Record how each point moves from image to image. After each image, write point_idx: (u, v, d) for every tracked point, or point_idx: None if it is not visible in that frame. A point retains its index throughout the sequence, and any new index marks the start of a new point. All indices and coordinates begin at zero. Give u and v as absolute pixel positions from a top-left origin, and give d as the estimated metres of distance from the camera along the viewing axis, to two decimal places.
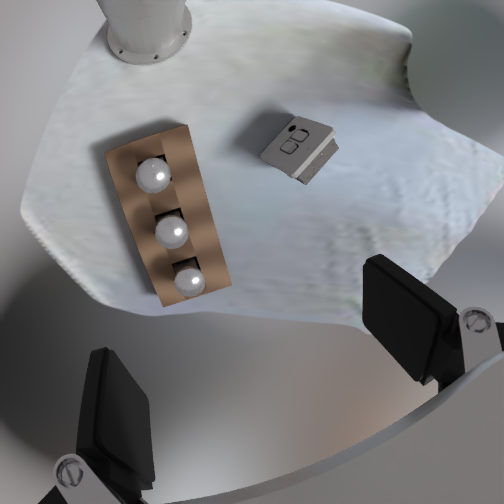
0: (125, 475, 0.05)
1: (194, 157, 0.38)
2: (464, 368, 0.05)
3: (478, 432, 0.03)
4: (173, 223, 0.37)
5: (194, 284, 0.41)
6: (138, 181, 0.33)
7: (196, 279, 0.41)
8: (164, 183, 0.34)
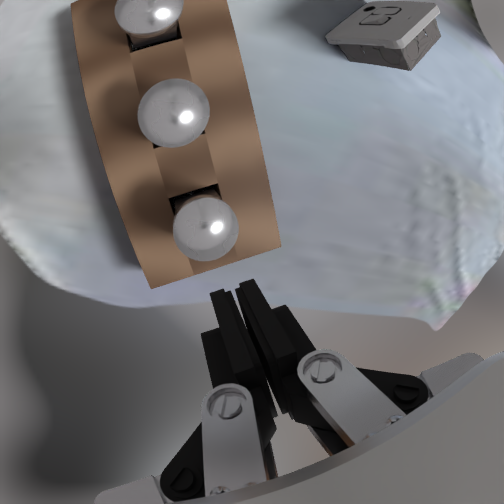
0: None
1: (225, 7, 0.16)
2: (341, 429, 0.05)
3: (478, 432, 0.03)
4: (179, 90, 0.15)
5: (216, 234, 0.19)
6: (118, 13, 0.12)
7: (220, 221, 0.19)
8: (169, 16, 0.13)
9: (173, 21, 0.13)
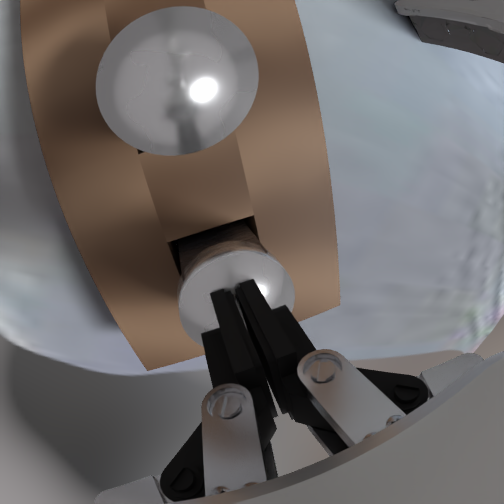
0: None
1: None
2: (341, 429, 0.05)
3: (478, 432, 0.03)
4: (191, 30, 0.06)
5: None
6: None
7: (265, 292, 0.11)
8: None
9: None
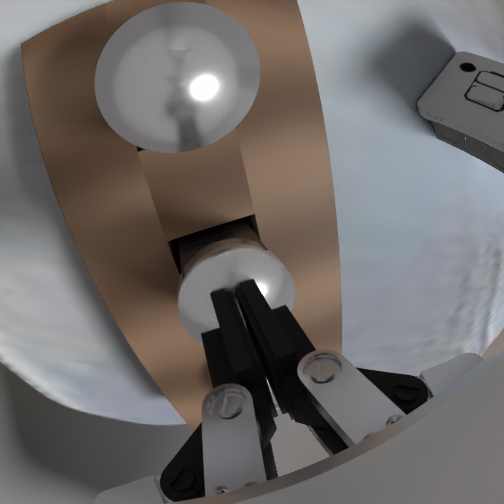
0: None
1: (308, 62, 0.10)
2: (341, 428, 0.05)
3: (478, 432, 0.03)
4: (248, 273, 0.10)
5: None
6: (104, 97, 0.06)
7: None
8: (229, 109, 0.07)
9: None
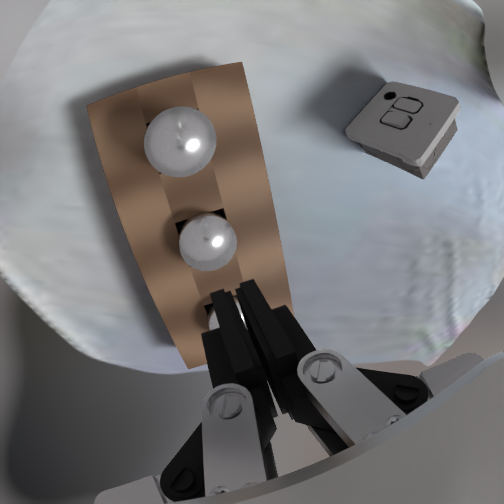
0: None
1: (252, 119, 0.21)
2: (341, 428, 0.05)
3: (478, 432, 0.03)
4: (212, 227, 0.21)
5: None
6: (149, 152, 0.16)
7: None
8: (203, 157, 0.17)
9: None
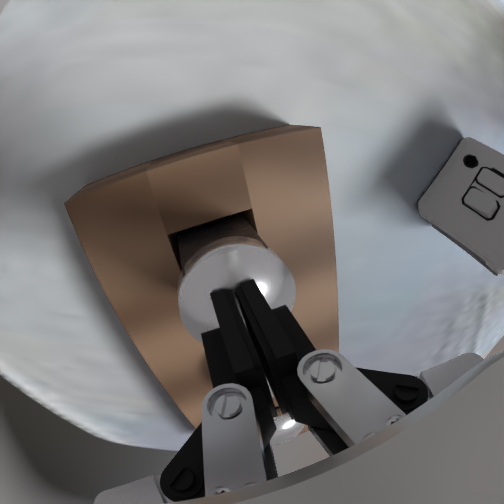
0: None
1: (328, 220, 0.15)
2: (341, 429, 0.05)
3: (478, 432, 0.03)
4: None
5: (286, 433, 0.20)
6: (189, 322, 0.10)
7: (291, 427, 0.20)
8: None
9: None
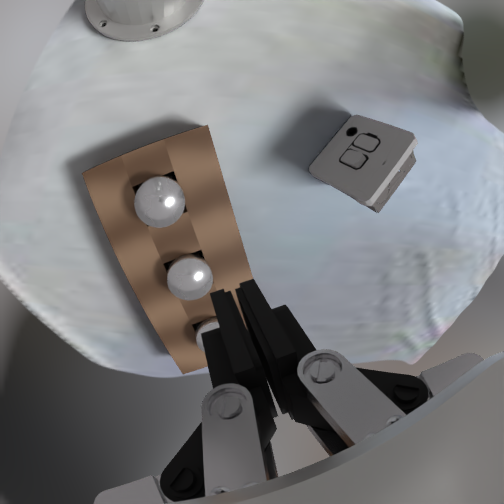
0: None
1: (220, 175, 0.26)
2: (341, 429, 0.05)
3: (478, 432, 0.03)
4: (192, 267, 0.27)
5: None
6: (138, 211, 0.23)
7: None
8: (176, 213, 0.24)
9: None
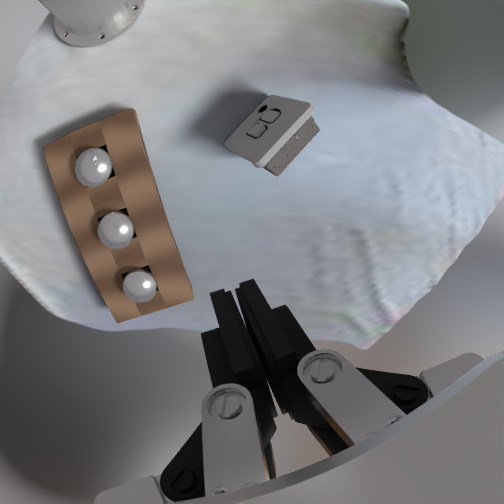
0: None
1: (140, 147, 0.30)
2: (341, 429, 0.05)
3: (478, 432, 0.03)
4: (116, 220, 0.31)
5: (144, 289, 0.35)
6: (77, 174, 0.27)
7: (146, 283, 0.35)
8: (104, 175, 0.28)
9: (107, 178, 0.29)
